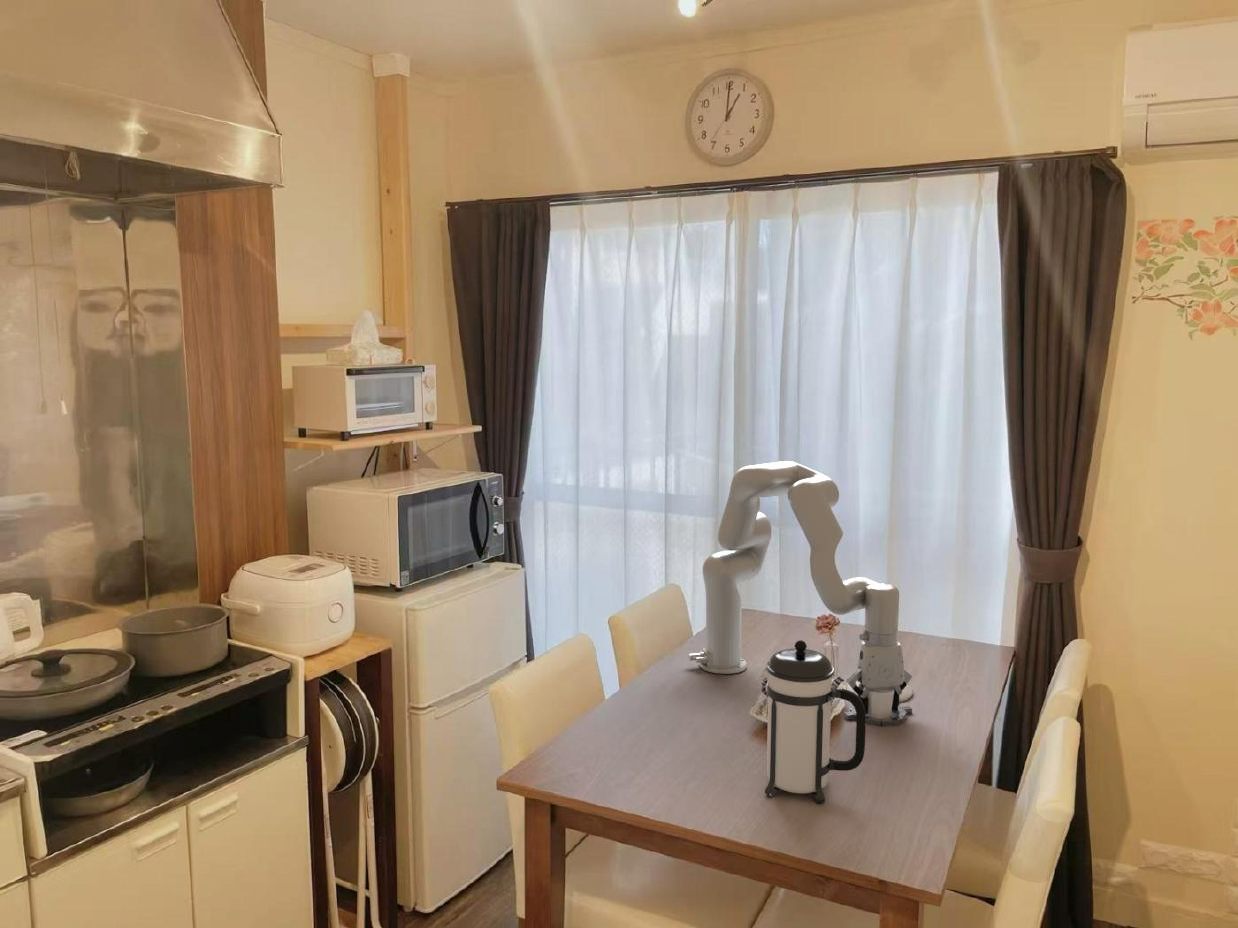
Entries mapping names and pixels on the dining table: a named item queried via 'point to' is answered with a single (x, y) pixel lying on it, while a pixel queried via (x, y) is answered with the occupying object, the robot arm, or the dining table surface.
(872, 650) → the robot arm
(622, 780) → the dining table surface
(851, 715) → the collar
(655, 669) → the dining table surface
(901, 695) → the saucer
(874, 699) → the white cup
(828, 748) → the coffee press
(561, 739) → the dining table surface
